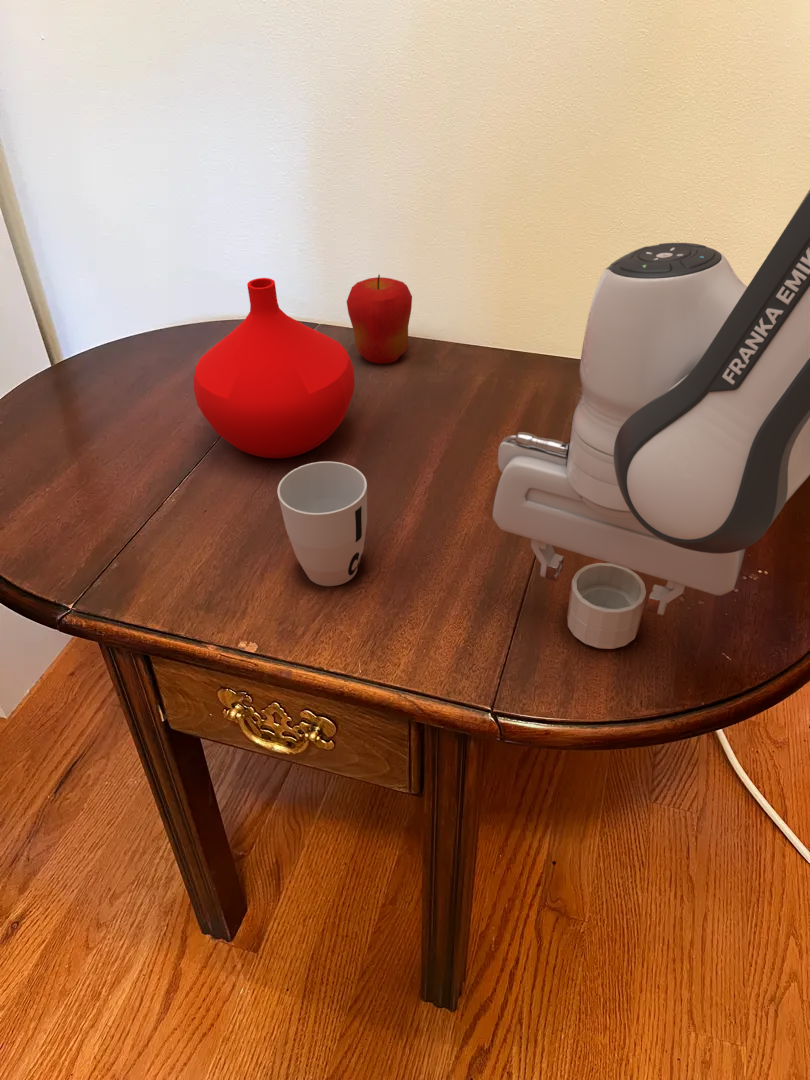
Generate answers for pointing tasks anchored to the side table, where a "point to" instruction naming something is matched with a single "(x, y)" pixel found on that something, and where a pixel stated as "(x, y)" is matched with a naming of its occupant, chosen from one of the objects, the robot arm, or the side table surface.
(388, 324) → the apple
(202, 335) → the side table surface
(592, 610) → the bowl
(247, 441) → the vase
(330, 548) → the cup
